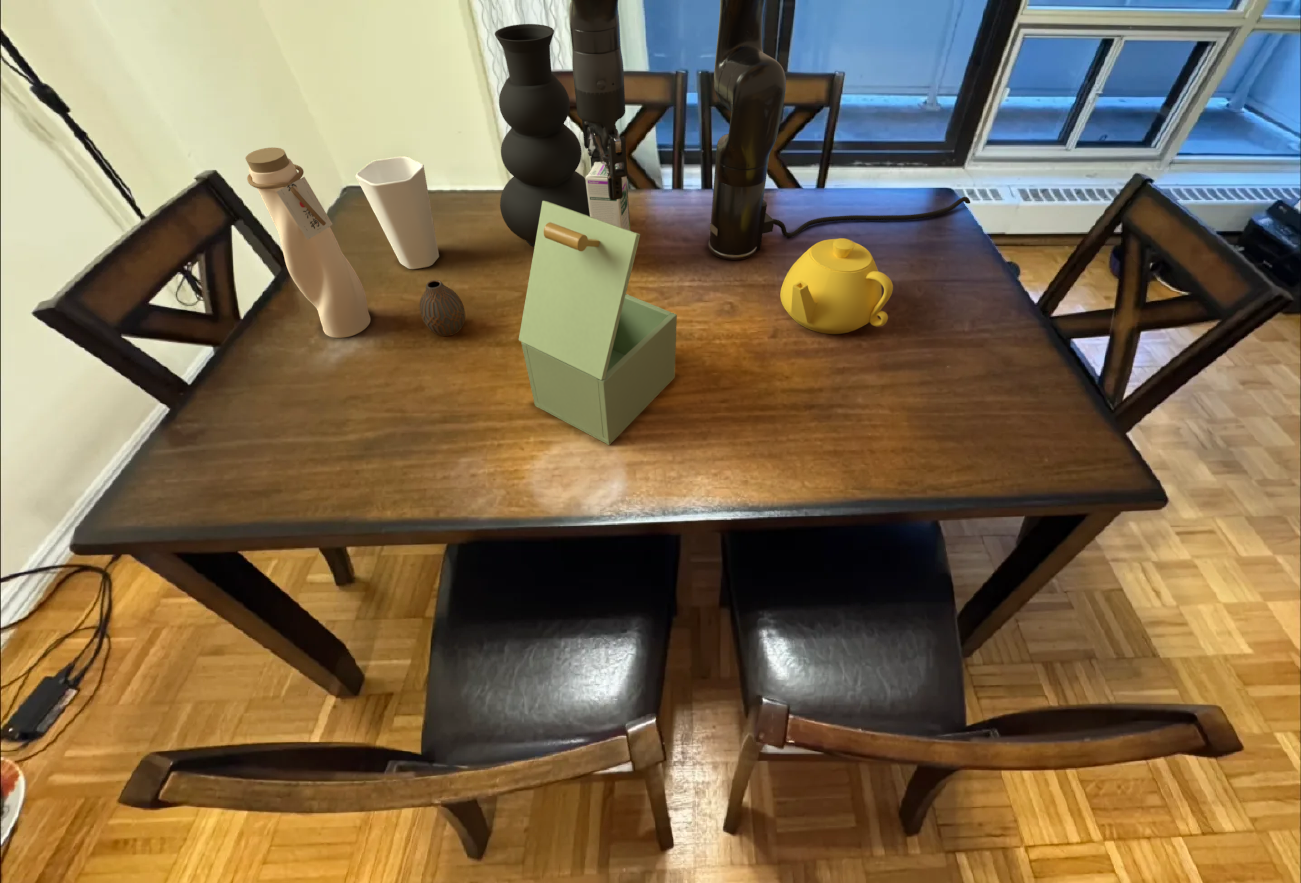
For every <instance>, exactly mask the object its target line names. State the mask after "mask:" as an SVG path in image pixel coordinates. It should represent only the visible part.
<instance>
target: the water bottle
mask: <svg viewBox="0 0 1301 883" xmlns="http://www.w3.org/2000/svg"><path fill="white" fill-rule="evenodd" d="M245 161H246V163H247V165H248V172H249V174H248V175H247V177H246V180H247V183H248V184H249V185H250V186H251V187H252V188H255V189H257V191H258V193H259V195H260V197H261V199H262V201H263V203H264V205H265V207H266V209H267V211H268V213H269V216H270V218H271V220H272V222H273V224H274V226H275V228H276V230H277V232H278V236H279V240H280V245H281V249H282V250H281V251H282V254H283V257H284V262H285V265H286V268H287V271H288V273H289V275H290V277H291V279H292V281H293V282H294V284H295V285H296V287H297V288H298V290H299V291H300V292H301V294H302V295H303V296H304V298H306V299H307V301H309V302H310V303H311V304H312V305H313V306H314V307H315V309H316V310H317V313H318V316H319V320H320V323H321V327H322V331H323V332H324V334H325V335H326V336H328V337H330V338H334V339H341V338H342V339H343V338H349V337H352V336H355V335H357V334H360V333H361V332H363V331H364V330H366V328H367V327H369V325H370V323H371V316H370V313H369V308H368V300H367V295H366V291H365V288H364V286H363V283H362V281H361V279H360V278H359V276H358V274H357V272H356V271H355V269H354V268H353V266H352V265H351V263H350V261H349V259H348V258H347V257H346V256H345V255H344V253H343V252H342V251H343V250H342V249H341V246H340V245H339V242H338V239H337V238H336V236H335V234H334V232H333V230H332V228H331V227H332V226H333V225H334V224H333V223H332V220H331V219H330V217H329V216H328V214H327V212H326V210H325V209H324V207H323V205H322V204H321V202H320V200H319V198H318V197H317V195H316V194H315V192H314V191H313V189H312V187H311V185H310V184H309V181H308V180H307V179H306V177H305V176H304V172H305V171H304V169H303V168H302V167H301V166H300V165H297V164H295V163H293V161H292V160H291V158H288V156H287V153H286V150H284V149H283V148H281V147H265V148H259V149H256V150H253V151H252V152H250V153H248V154H247V155H246V156H245Z"/></svg>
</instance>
